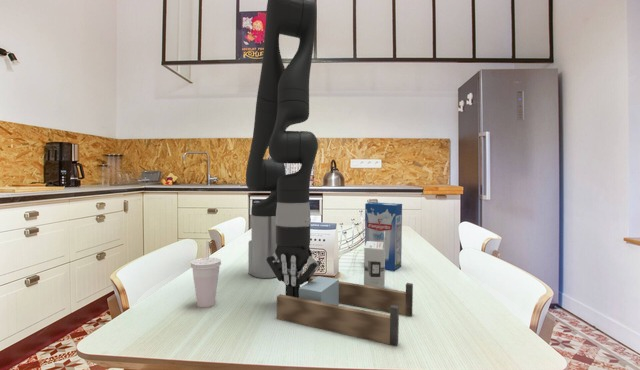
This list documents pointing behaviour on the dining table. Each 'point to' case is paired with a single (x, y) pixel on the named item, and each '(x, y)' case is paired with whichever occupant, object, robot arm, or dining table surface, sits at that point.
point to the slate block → (321, 290)
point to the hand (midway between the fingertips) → (292, 301)
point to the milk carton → (389, 221)
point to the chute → (352, 311)
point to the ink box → (374, 263)
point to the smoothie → (206, 278)
